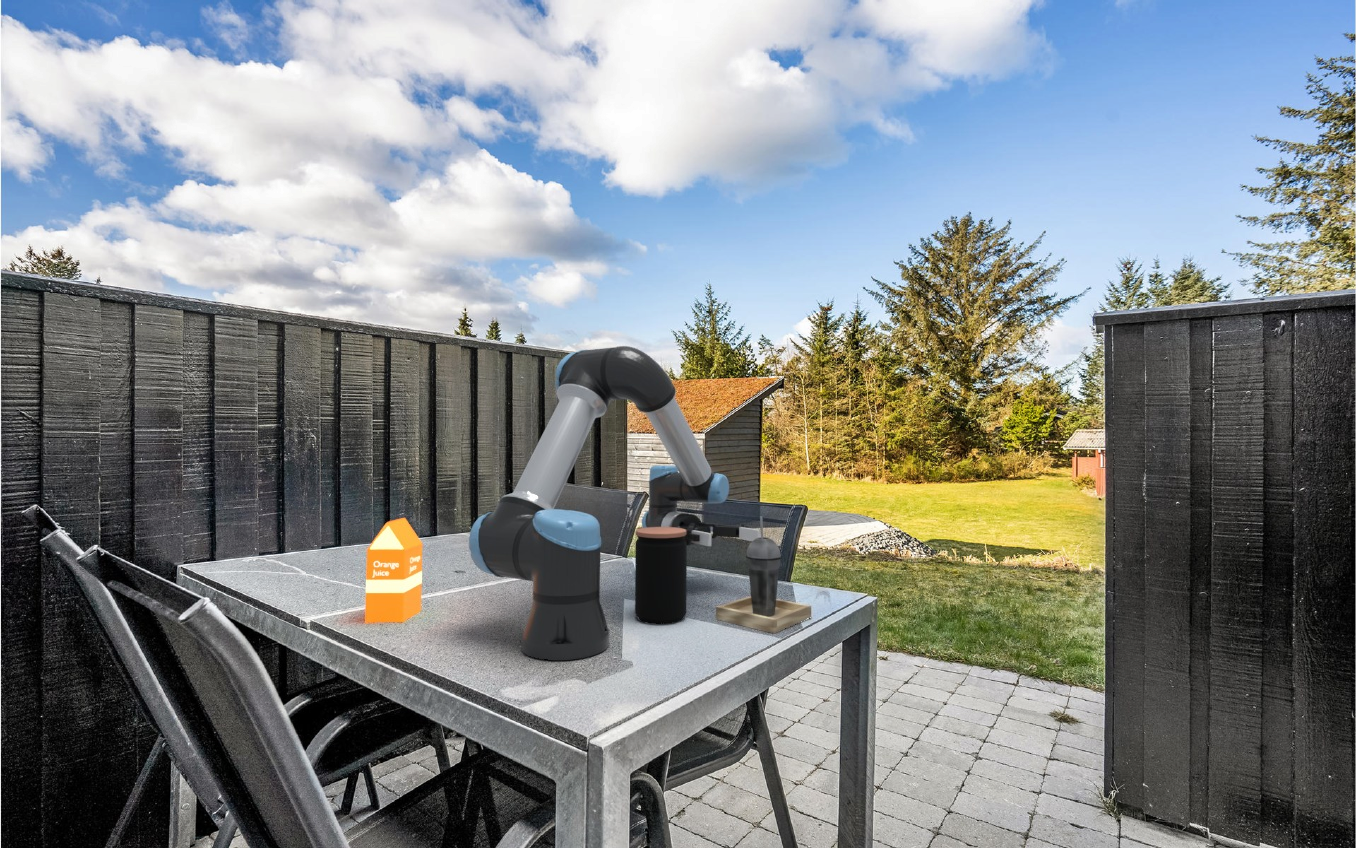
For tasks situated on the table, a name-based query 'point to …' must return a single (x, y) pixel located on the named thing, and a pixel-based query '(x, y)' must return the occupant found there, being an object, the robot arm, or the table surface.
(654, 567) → the coffee jar
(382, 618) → the orange juice
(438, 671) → the table surface
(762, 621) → the tray
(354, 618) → the table surface
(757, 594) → the beverage cup
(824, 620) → the table surface
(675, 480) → the robot arm
